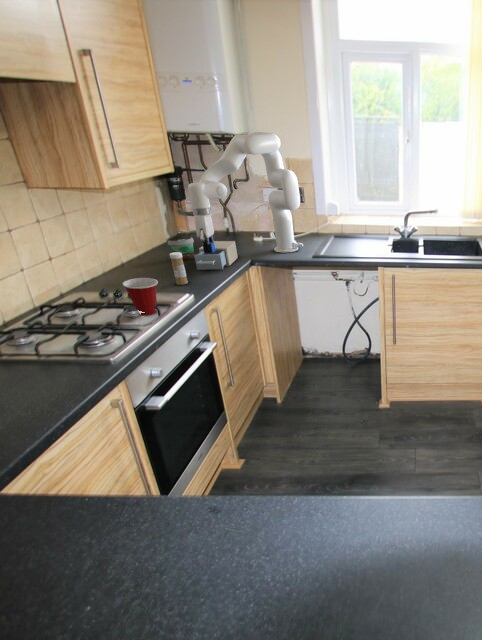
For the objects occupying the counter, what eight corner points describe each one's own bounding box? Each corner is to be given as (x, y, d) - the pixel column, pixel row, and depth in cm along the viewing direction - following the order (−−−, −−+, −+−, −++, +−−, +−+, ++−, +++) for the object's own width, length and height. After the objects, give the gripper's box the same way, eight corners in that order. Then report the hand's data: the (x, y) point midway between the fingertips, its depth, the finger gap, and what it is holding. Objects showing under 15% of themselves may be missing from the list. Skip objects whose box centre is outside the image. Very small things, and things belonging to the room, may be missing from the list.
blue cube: (215, 250, 223) (214, 242, 222) (213, 252, 220) (211, 244, 218) (206, 250, 223) (205, 242, 221) (204, 252, 219) (202, 244, 217)
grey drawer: (219, 272, 217) (216, 257, 214) (193, 272, 215) (190, 258, 212) (230, 261, 233) (228, 247, 230) (206, 261, 232) (203, 247, 229)
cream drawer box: (229, 265, 229) (226, 248, 226) (202, 266, 228) (198, 248, 224) (237, 257, 242) (235, 241, 239) (212, 257, 241) (208, 241, 237)
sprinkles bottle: (175, 283, 204) (167, 252, 198) (186, 281, 207) (179, 251, 201) (178, 286, 201) (171, 255, 195) (189, 283, 204) (182, 253, 198)
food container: (177, 262, 232) (172, 242, 228) (171, 260, 235) (166, 240, 231) (202, 257, 241) (198, 238, 237) (195, 255, 244) (191, 236, 240)
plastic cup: (156, 318, 169) (148, 286, 164) (125, 318, 169) (115, 286, 163) (170, 307, 179) (162, 276, 174) (140, 307, 178) (132, 276, 173)
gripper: (199, 208, 220) (207, 247, 228) (186, 215, 205) (195, 256, 213) (216, 208, 221) (223, 246, 229) (204, 215, 206) (212, 255, 214)
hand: (209, 250), depth 221 cm, fingers closed on blue cube, 4 cm apart
